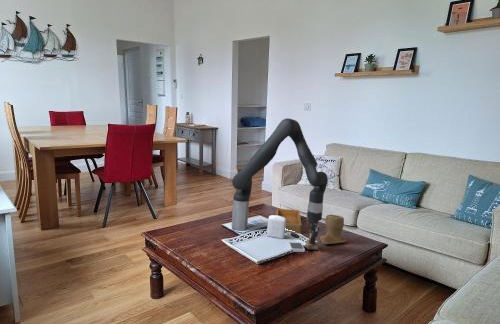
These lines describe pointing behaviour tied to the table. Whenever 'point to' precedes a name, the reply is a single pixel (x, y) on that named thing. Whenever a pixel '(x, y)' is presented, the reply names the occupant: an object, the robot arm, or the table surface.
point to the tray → (291, 219)
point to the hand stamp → (311, 244)
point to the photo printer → (276, 226)
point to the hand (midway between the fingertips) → (311, 241)
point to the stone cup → (333, 230)
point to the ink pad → (296, 247)
